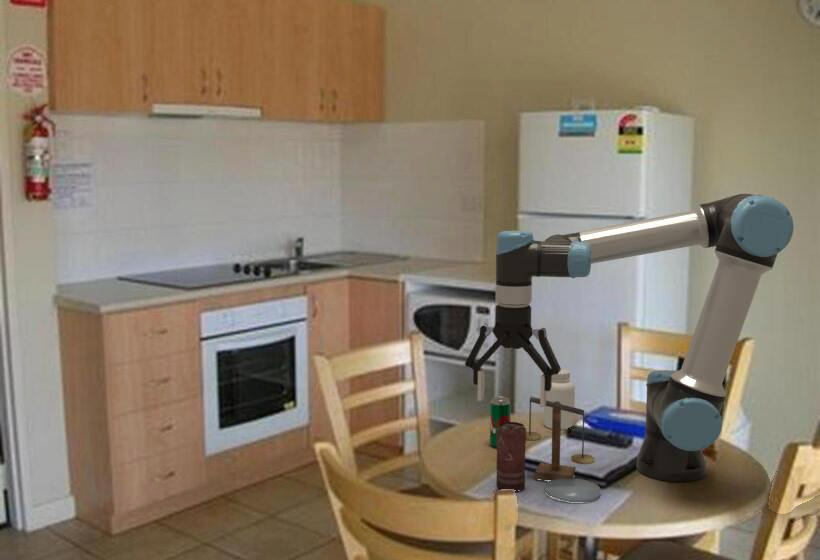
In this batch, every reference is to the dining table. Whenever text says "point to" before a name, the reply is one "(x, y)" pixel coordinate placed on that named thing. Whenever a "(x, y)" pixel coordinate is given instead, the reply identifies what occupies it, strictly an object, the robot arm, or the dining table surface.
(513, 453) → the can
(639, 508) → the dining table surface
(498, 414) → the soda can
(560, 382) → the pill bottle
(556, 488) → the dish
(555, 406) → the balance
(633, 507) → the dining table surface
